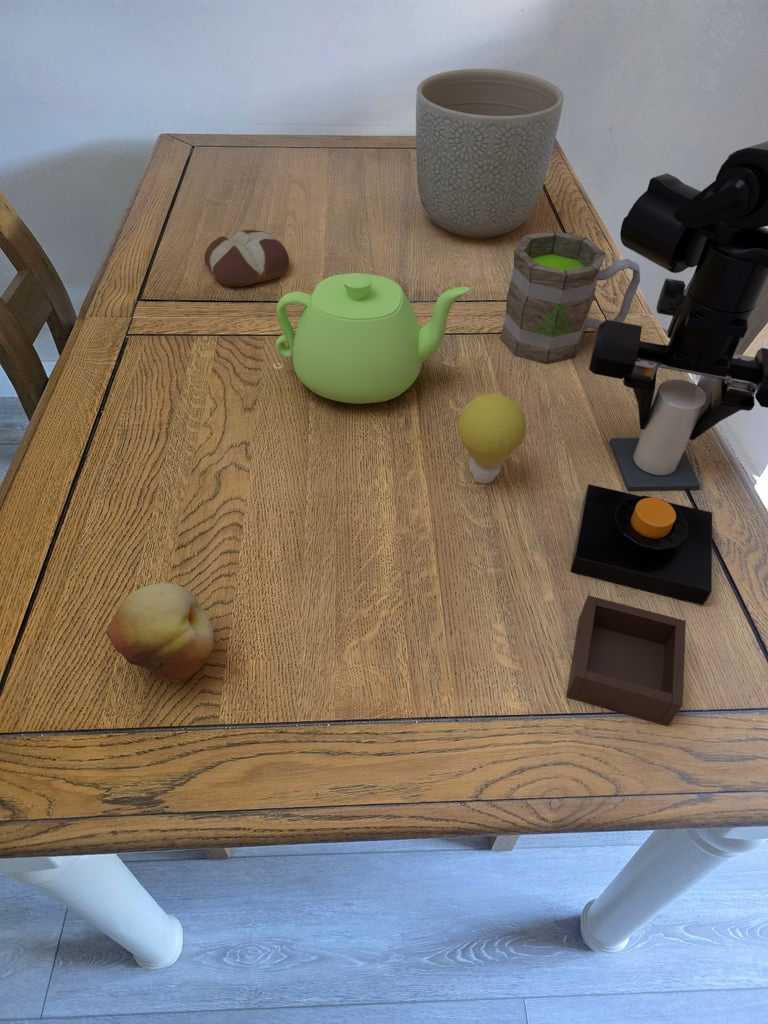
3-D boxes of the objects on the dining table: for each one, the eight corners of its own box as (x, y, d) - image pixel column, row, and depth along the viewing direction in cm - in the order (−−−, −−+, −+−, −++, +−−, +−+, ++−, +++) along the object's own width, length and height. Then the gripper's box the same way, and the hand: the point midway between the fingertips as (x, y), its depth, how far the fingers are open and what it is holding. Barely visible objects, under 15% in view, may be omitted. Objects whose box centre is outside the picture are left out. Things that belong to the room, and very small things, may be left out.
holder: (672, 643, 61) (686, 620, 59) (668, 726, 56) (682, 705, 53) (578, 618, 63) (587, 595, 60) (565, 697, 57) (575, 675, 55)
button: (671, 515, 66) (677, 502, 65) (669, 543, 64) (675, 530, 63) (632, 506, 67) (637, 493, 66) (629, 533, 65) (634, 520, 64)
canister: (678, 451, 77) (707, 384, 70) (676, 479, 74) (706, 412, 67) (634, 442, 78) (659, 375, 71) (631, 469, 75) (656, 402, 68)
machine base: (704, 527, 70) (719, 499, 67) (703, 605, 64) (719, 579, 61) (583, 498, 73) (592, 471, 70) (570, 572, 66) (579, 544, 63)
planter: (537, 197, 121) (559, 71, 107) (542, 257, 107) (569, 121, 93) (415, 190, 122) (422, 64, 108) (405, 248, 108) (411, 112, 94)
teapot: (459, 348, 90) (470, 251, 81) (457, 424, 80) (469, 324, 71) (289, 337, 91) (280, 240, 82) (266, 411, 81) (252, 310, 72)
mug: (503, 362, 88) (518, 274, 80) (496, 315, 96) (509, 229, 87) (628, 366, 88) (658, 278, 79) (612, 318, 96) (637, 233, 87)
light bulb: (528, 478, 75) (546, 403, 67) (484, 508, 72) (498, 433, 64) (482, 445, 78) (494, 371, 71) (438, 473, 75) (446, 398, 68)
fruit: (198, 712, 56) (178, 659, 50) (105, 686, 58) (75, 631, 52) (237, 633, 61) (223, 577, 55) (150, 611, 62) (127, 554, 57)
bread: (298, 278, 101) (295, 245, 98) (221, 296, 98) (215, 262, 94) (272, 244, 108) (268, 212, 104) (199, 259, 105) (193, 226, 101)
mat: (699, 489, 74) (701, 485, 73) (627, 490, 74) (629, 487, 73) (676, 441, 79) (677, 437, 78) (609, 442, 79) (610, 438, 78)
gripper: (829, 269, 65) (759, 404, 76) (621, 236, 68) (585, 370, 80) (842, 334, 57) (763, 472, 69) (609, 294, 61) (571, 431, 73)
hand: (666, 432), depth 73 cm, fingers closed on canister, 4 cm apart
